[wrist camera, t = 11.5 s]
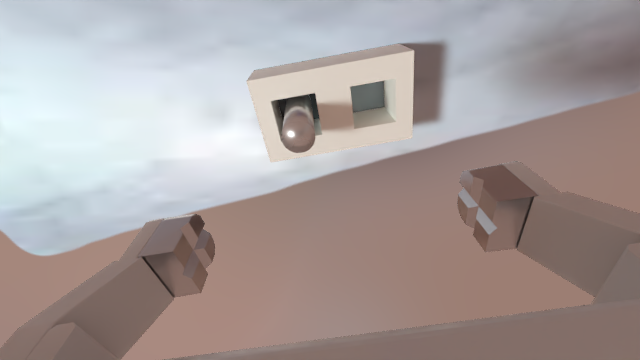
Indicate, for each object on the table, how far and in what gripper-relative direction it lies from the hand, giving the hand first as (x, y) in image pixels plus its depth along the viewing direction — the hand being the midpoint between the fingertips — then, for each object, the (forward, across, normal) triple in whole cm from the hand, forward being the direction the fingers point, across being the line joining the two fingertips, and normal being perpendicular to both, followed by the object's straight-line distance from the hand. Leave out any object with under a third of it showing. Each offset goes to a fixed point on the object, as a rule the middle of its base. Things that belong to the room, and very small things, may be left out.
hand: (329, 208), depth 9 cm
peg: (+26, +3, +5) cm, 26 cm away
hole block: (+26, -1, +5) cm, 26 cm away
